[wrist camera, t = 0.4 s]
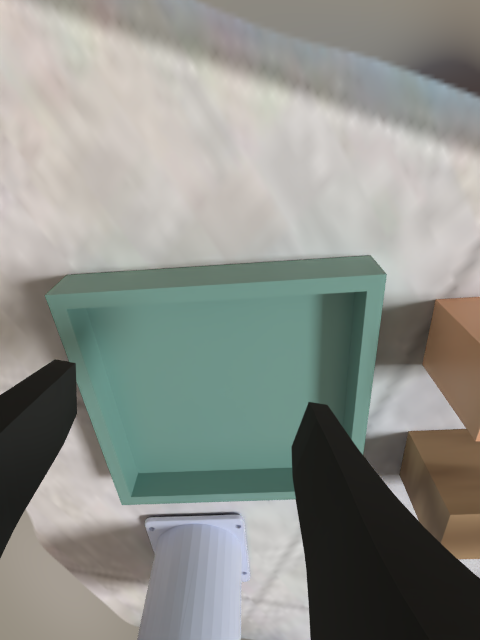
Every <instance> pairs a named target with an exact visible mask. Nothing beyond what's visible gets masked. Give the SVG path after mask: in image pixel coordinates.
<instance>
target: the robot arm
mask: <svg viewBox="0 0 480 640" xmlns="http://www.w3.org/2000/svg"><path fill="white" fill-rule="evenodd" d="M76 414H77V397H76V363H73V362H67V361H60V360H54V361H52V362H51V363H49V364H47V365H46V366H44V367H43V368H41V369H40V370H38V371H37V372H35V373H34V374H32V375H31V376H29V377H28V378H26V379H24V380H23V381H21V382H20V383H18V384H17V385H15V386H14V387H12V388H11V389H9V390H8V391H6V392H4V393H3V394H1V395H0V558H1V556H2V553H3V551H4V549H5V547H6V545H7V543H8V541H9V539H10V537H11V534H12V532H13V530H14V529H15V527H16V525H17V523H18V521H19V519H20V517H21V516H22V514H23V512H24V511H25V509H26V507H27V506H28V504H29V502H30V500H31V499H32V497H33V495H34V494H35V492H36V490H37V489H38V487H39V485H40V484H41V482H42V480H43V479H44V477H45V475H46V474H47V472H48V470H49V468H50V467H51V465H52V463H53V462H54V460H55V458H56V456H57V455H58V453H59V451H60V450H61V448H62V446H63V444H64V442H65V440H66V438H67V435H68V433H69V431H70V429H71V426H72V424H73V421H74V419H75V417H76ZM291 448H292V476H293V484H294V491H295V497H296V504H297V510H298V516H299V522H300V528H301V534H302V540H303V547H304V553H305V561H306V570H307V584H308V599H309V615H310V635H311V640H480V578H478V577H477V576H476V575H475V574H474V573H473V572H471V571H470V570H469V569H468V568H467V567H466V566H465V565H464V564H462V563H461V562H460V561H459V560H458V559H457V558H456V557H455V556H454V555H453V554H452V553H451V552H449V551H448V550H447V549H446V548H445V547H444V546H443V545H442V544H441V543H440V542H439V541H438V540H437V539H436V538H435V537H434V536H433V535H432V534H431V533H430V532H429V531H428V530H427V529H426V528H425V527H424V526H423V525H422V524H421V523H420V522H419V521H418V520H417V519H416V518H415V517H414V516H413V515H412V514H411V512H410V511H409V510H408V509H407V508H406V507H405V506H404V505H403V504H402V503H401V502H400V501H399V499H398V498H397V497H396V496H395V495H394V494H393V493H392V491H391V490H390V489H389V488H388V486H387V485H386V484H385V483H384V482H383V480H382V479H381V478H380V477H379V475H378V474H377V473H376V472H375V470H374V469H373V468H372V467H371V465H370V464H369V463H368V461H367V460H366V459H365V457H364V456H363V455H362V453H361V452H360V451H359V449H358V448H357V446H356V445H355V444H354V442H353V441H352V439H351V438H350V437H349V435H348V434H347V432H346V431H345V429H344V428H343V427H342V425H341V424H340V422H339V421H338V419H337V418H336V416H335V415H334V413H333V412H332V411H331V409H330V408H329V406H328V405H325V404H319V403H313V402H308V405H307V408H306V410H305V413H304V415H303V418H302V421H301V423H300V426H299V428H298V431H297V434H296V436H295V439H294V441H293V444H292V447H291ZM145 528H146V531H147V534H148V537H149V540H150V543H151V546H152V549H153V552H154V560H153V565H152V570H151V575H150V580H149V585H148V590H147V594H146V599H145V604H144V609H143V614H142V619H141V624H140V629H139V633H138V638H137V640H241V582H246V581H249V580H250V570H249V561H248V552H247V543H246V534H245V525H244V518H243V517H242V516H241V515H210V516H179V517H150V518H147V519H146V520H145Z"/></svg>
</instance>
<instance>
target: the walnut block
mask: <svg viewBox="0 0 480 640" xmlns="http://www.w3.org/2000/svg"><path fill="white" fill-rule="evenodd" d="M400 477H401V479H402V482H403V484H404V486H405V489H406V491H407V493H408V496H409V498H410V501H411V503H412V505H413V508H414V510H415V513H416V515H417V517H418V520H419V522H420V523H421V524H422V525H423V526H424V527H425V528H426V529H427V530H428V531H429V532H430V533H431V534H432V535H433V536H434V537H435V538H436V539H437V540H438V541H439V542H440V543H441V544H442V545H443V546H444V547H445V548H446V549H447V550H448V551H449V552H451V553H452V554H453V555H454V556H455V557H456V558H457V559H480V441H475V440H474V439H473V437H472V436H471V434H470V433H469V431H468V430H467V429H452V430H428V431H408V436H407V441H406V445H405V450H404V455H403V460H402V465H401V469H400Z"/></svg>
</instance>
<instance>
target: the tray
mask: <svg viewBox="0 0 480 640" xmlns="http://www.w3.org/2000/svg"><path fill="white" fill-rule="evenodd" d="M386 276H387V274H386V273H385V272H384V271H383V269H382V268H381V267H380V266H379V265H378V263H377V262H376V261H375V260H374V259H373V258H372V256H371V255H370V256H354V257H339V258H323V259H308V260H292V261H276V262H261V263H245V264H230V265H214V266H199V267H183V268H168V269H152V270H136V271H121V272H105V273H90V274H74V275H66V276H65V277H64V278H63V279H62V280H61V281H60V282H59V283H58V284H57V285H55V286H54V287H53V288H52V289H51V290H50V291H49V292H48V293H47V294H46V295H45V297H46V300H47V303H48V306H49V308H50V311H51V314H52V316H53V319H54V322H55V325H56V327H57V330H58V333H59V335H60V338H61V341H62V344H63V346H64V349H65V352H66V354H67V357H68V360H69V362H73V363H76V382H77V384H78V387H79V390H80V392H81V395H82V398H83V401H84V403H85V406H86V409H87V411H88V414H89V417H90V420H91V422H92V425H93V428H94V430H95V433H96V436H97V439H98V441H99V444H100V447H101V449H102V452H103V455H104V458H105V460H106V463H107V466H108V468H109V471H110V474H111V477H112V479H113V482H114V485H115V487H116V490H117V493H118V496H119V498H120V501H121V504H122V505H137V504H167V503H197V502H228V501H258V500H288V499H296V497H295V491H294V484H293V476H292V448H291V447H292V444H293V441H294V439H295V436H296V434H297V431H298V428H299V426H300V423H301V421H302V418H303V415H304V413H305V410H306V408H307V405H308V402H313V403H319V404H325V405H328V406H329V408H330V409H331V411H332V412H333V413H334V415H335V416H336V418H337V419H338V421H339V422H340V424H341V425H342V427H343V428H344V429H345V431H346V432H347V434H348V435H349V437H350V438H351V439H352V441H353V442H354V444H355V445H356V446H357V448H358V449H359V451H360V452H361V453H362V455H363V452H364V445H365V437H366V429H367V422H368V414H369V406H370V399H371V391H372V383H373V376H374V368H375V360H376V353H377V345H378V337H379V329H380V322H381V314H382V306H383V299H384V291H385V283H386Z"/></svg>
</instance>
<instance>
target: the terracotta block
mask: <svg viewBox="0 0 480 640" xmlns="http://www.w3.org/2000/svg"><path fill="white" fill-rule="evenodd" d="M422 365H423V366H424V368H425V369H426V371H427V372H428V374H429V375H430V376H431V378H432V379H433V381H434V382H435V384H436V385H437V387H438V388H439V389H440V391H441V392H442V394H443V395H444V397H445V398H446V400H447V401H448V403H449V404H450V405H451V407H452V408H453V410H454V411H455V413H456V414H457V416H458V417H459V418H460V420H461V421H462V423H463V424H464V426H465V427H466V429H467V430H468V431H469V433H470V434H471V436H472V437H473V439H474V440H475V441H480V297H469V298H452V299H436V301H435V306H434V310H433V315H432V320H431V325H430V330H429V335H428V339H427V344H426V349H425V354H424V359H423V363H422Z"/></svg>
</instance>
